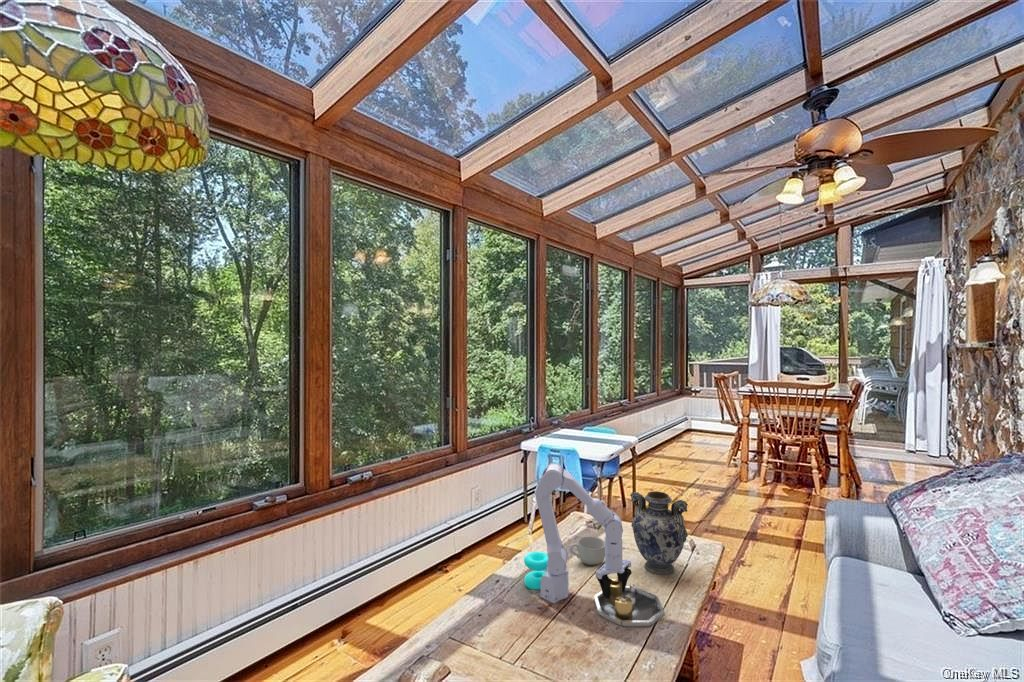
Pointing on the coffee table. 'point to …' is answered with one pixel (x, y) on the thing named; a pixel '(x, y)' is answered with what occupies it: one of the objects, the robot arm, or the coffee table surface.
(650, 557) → the decorative vase
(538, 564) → the donuts
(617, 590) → the gear
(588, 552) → the teacup
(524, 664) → the coffee table surface
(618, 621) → the tray
